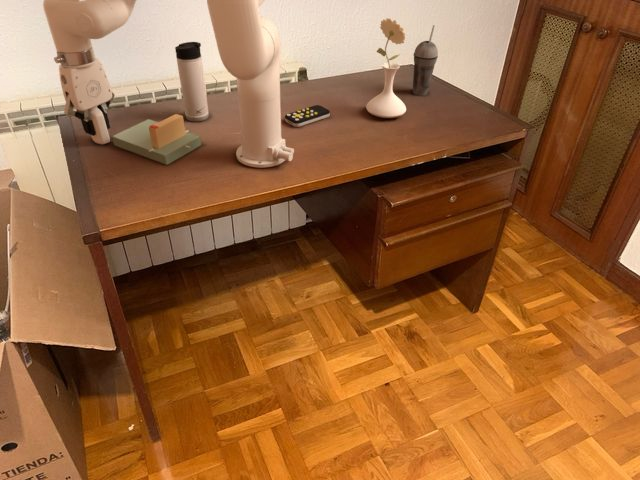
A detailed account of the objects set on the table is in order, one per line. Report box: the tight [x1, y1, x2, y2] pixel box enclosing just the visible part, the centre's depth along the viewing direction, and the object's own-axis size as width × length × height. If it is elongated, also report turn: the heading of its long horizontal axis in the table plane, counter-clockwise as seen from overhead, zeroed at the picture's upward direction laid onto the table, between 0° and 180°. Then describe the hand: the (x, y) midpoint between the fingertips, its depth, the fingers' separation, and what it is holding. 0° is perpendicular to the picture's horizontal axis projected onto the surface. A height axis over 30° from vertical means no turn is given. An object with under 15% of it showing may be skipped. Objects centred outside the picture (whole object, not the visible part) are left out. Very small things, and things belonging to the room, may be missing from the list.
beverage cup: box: [412, 24, 439, 96], centre depth 147 cm, size 7×7×20 cm
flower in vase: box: [365, 17, 407, 119], centre depth 133 cm, size 13×11×25 cm
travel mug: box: [174, 41, 210, 123], centre depth 130 cm, size 6×7×20 cm
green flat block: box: [111, 118, 202, 166], centre depth 121 cm, size 20×13×3 cm, turn 59°
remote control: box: [284, 104, 331, 128], centre depth 136 cm, size 6×13×2 cm, turn 130°
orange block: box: [149, 113, 186, 149], centre depth 117 cm, size 9×2×5 cm, turn 149°
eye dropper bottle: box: [88, 106, 111, 145], centre depth 120 cm, size 4×6×12 cm
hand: (97, 130), depth 122 cm, fingers closed on eye dropper bottle, 3 cm apart
